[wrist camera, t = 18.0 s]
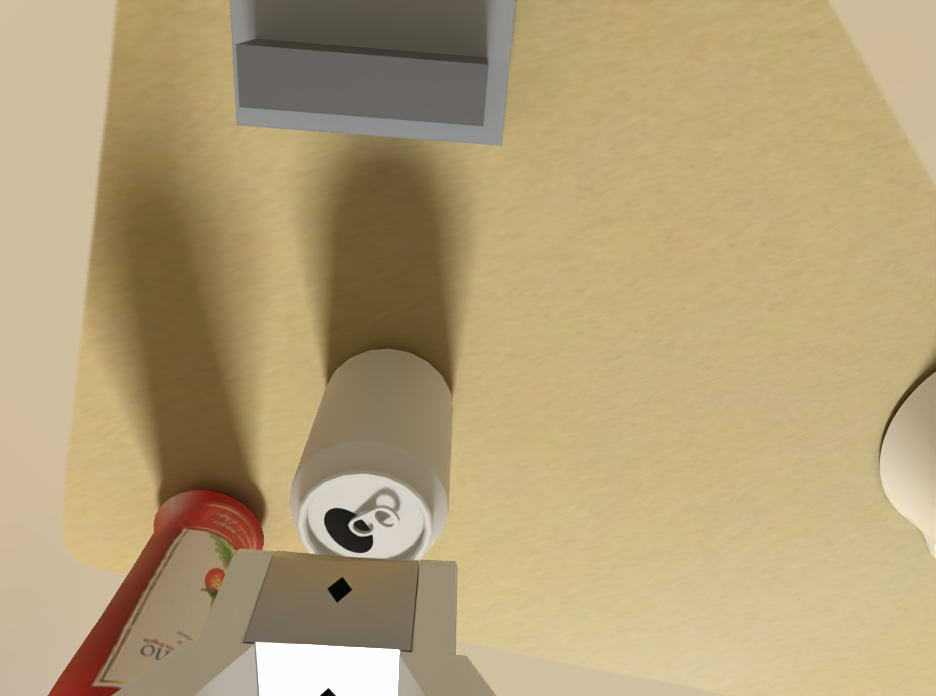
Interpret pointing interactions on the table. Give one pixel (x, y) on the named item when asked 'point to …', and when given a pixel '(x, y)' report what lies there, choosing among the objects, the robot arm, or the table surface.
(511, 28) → the frame
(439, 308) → the table surface
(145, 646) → the liquor
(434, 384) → the can
